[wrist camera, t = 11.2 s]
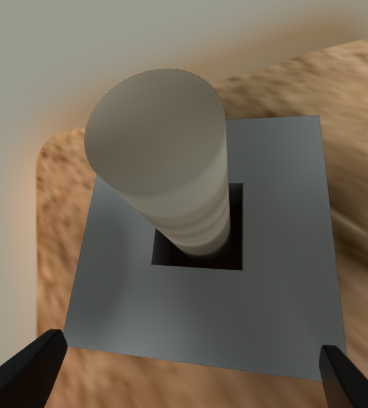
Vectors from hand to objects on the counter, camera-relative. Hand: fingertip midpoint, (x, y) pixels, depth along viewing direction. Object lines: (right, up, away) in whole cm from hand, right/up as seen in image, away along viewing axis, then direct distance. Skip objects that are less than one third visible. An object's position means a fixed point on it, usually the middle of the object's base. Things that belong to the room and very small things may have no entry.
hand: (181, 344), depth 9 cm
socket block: (+2, +2, +10) cm, 10 cm away
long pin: (+2, +2, +10) cm, 10 cm away
